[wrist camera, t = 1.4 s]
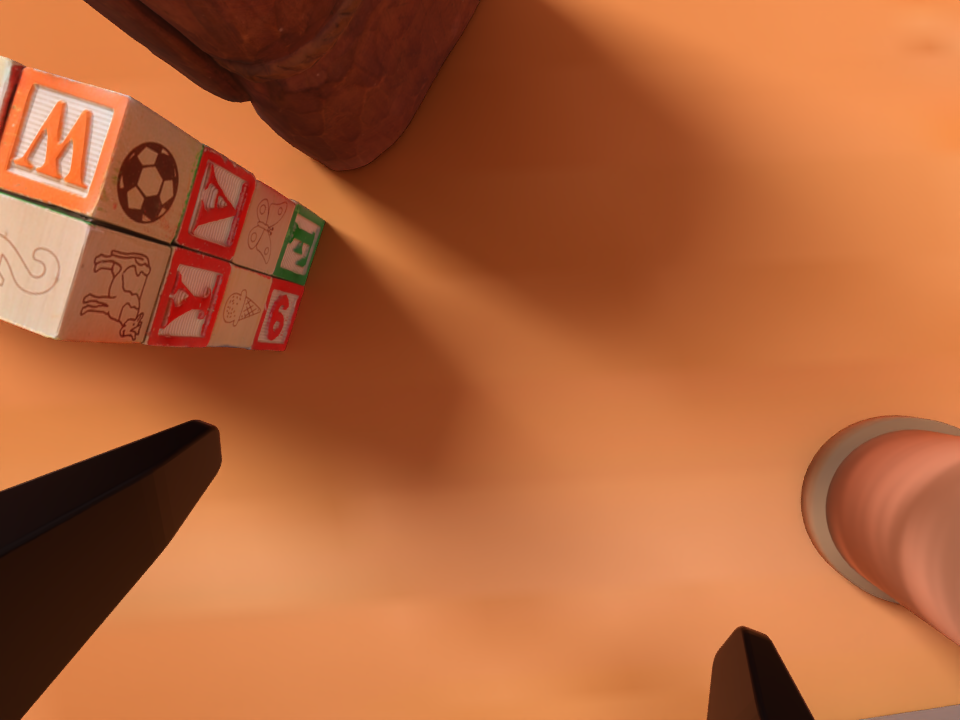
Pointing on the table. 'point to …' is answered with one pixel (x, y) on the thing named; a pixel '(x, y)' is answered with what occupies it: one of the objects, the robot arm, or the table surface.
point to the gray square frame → (925, 714)
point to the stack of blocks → (137, 226)
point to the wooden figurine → (306, 61)
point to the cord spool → (891, 513)
